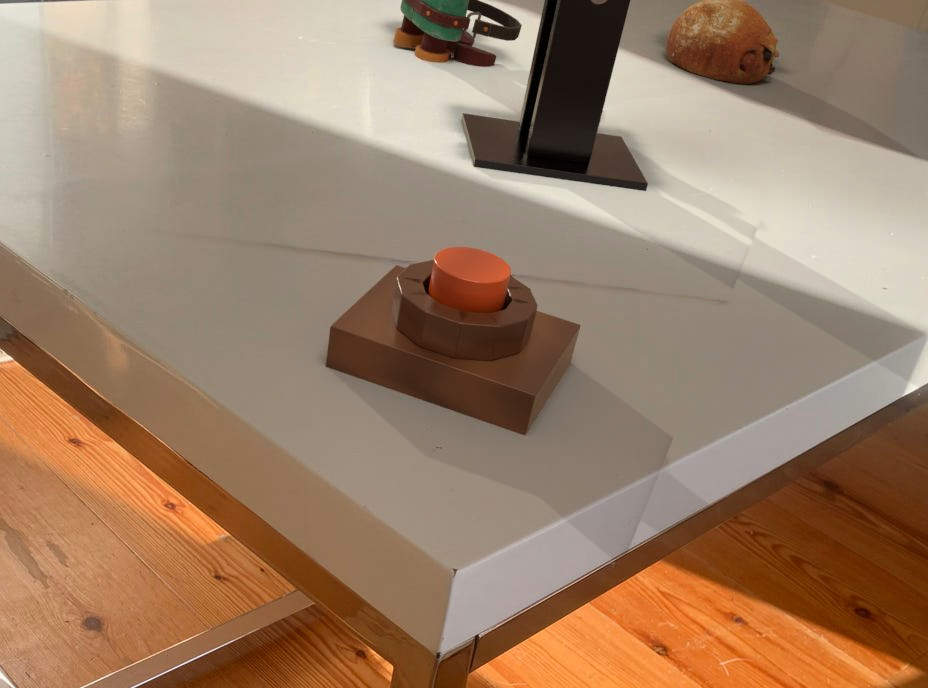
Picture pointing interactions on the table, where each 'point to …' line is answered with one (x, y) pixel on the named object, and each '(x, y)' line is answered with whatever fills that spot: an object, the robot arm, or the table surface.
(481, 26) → the binoculars
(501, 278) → the button
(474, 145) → the bracket
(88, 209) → the table surface
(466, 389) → the button block
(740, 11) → the bread roll
